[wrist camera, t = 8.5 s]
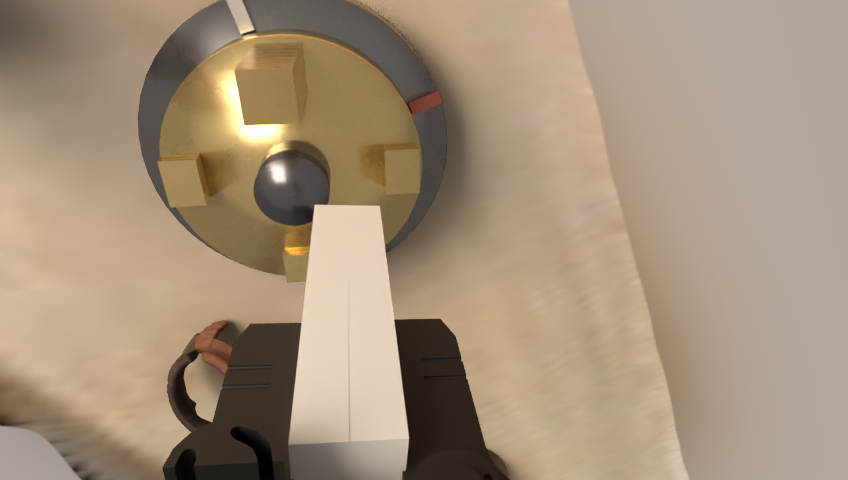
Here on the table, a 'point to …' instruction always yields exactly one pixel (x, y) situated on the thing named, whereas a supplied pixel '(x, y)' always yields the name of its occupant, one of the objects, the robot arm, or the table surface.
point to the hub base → (305, 19)
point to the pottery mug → (200, 343)
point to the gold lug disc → (279, 122)
